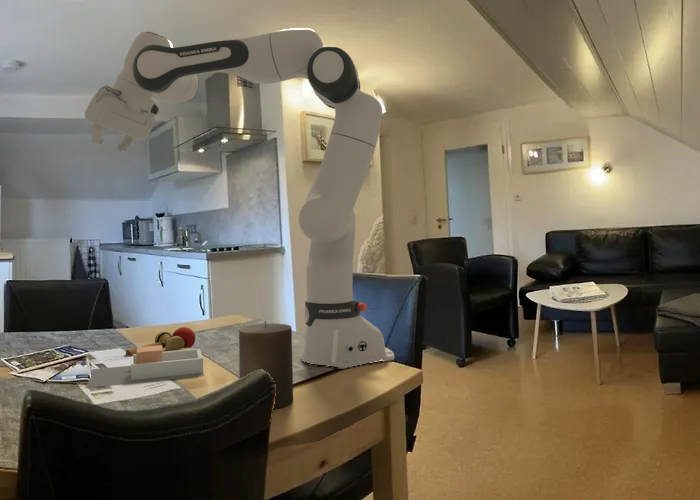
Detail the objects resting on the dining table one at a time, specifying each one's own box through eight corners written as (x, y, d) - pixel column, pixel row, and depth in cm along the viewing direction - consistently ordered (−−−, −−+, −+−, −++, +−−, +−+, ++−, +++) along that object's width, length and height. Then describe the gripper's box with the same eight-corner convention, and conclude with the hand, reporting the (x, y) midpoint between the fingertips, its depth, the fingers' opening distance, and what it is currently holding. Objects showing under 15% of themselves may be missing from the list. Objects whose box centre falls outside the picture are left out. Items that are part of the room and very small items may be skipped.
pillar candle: (296, 407, 92) (295, 323, 91) (240, 412, 89) (239, 326, 89) (289, 391, 101) (288, 315, 100) (238, 395, 99) (237, 317, 98)
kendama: (140, 370, 122) (204, 345, 136) (133, 344, 122) (198, 322, 135) (125, 370, 127) (188, 346, 141) (118, 345, 127) (182, 324, 140)
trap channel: (199, 365, 120) (199, 346, 120) (204, 382, 107) (203, 361, 107) (94, 375, 113) (94, 355, 112) (85, 395, 99) (84, 372, 99)
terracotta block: (162, 367, 113) (162, 345, 113) (162, 373, 108) (162, 350, 108) (138, 370, 111) (137, 347, 111) (137, 376, 107) (136, 352, 106)
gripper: (113, 88, 116) (89, 144, 118) (164, 112, 136) (143, 160, 138) (91, 77, 117) (68, 133, 119) (144, 102, 137) (124, 150, 139)
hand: (108, 147), depth 128 cm, fingers open, 8 cm apart
